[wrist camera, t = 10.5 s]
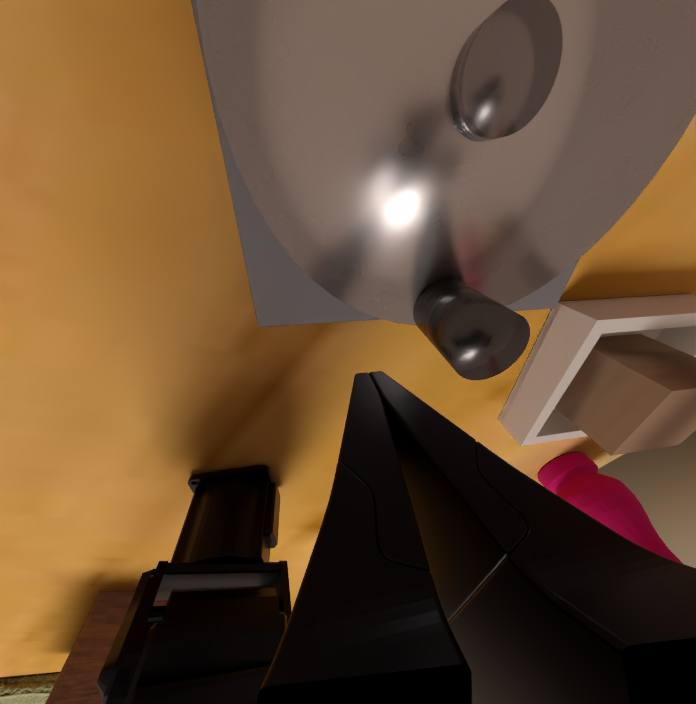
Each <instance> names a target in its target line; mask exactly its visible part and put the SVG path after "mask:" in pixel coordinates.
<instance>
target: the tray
mask: <svg viewBox="0 0 696 704" xmlns="http://www.w3.org/2000/svg"><path fill="white" fill-rule="evenodd" d="M630 334H642V335H644V336H647V337H649V338H651V339H654V340H656V341H659V342H661V343H663V344H666V345H668V346H670V347H673V348H675V349H677V350H680V351H682V352H684V353H687V354H689V355H691V356H694V357H696V295H693V294H678V295H661V296H644V297H627V298H611V299H594V300H577V301H561V302H558V303H557V305H556V307H555V308H552V310H551V312H550V314H549V316H548V318H547V320H546V322H545V324H544V326H543V328H542V330H541V332H540V334H539V336H538V339H537V341H536V343H535V345H534V347H533V349H532V351H531V353H530V355H529V357H528V359H527V361H526V363H525V365H524V367H523V369H522V371H521V373H520V375H519V377H518V380H517V382H516V384H515V386H514V388H513V390H512V392H511V394H510V396H509V398H508V400H507V402H506V404H505V406H504V408H503V410H502V412H501V414H500V416H499V419H498V420H499V421H500V423H501V424H502V425H503V426H504V427H505V428H506V430H507V431H508V432H509V433H510V434H511V435H512V437H513V438H514V439H515V440H516V441H517V442H518V443H519V445H520V446H525V445H531V444H538V443H544V442H551V441H558V440H564V439H571V438H578V437H584V436H587V435H586V434H585V433H584V432H583V431H581V430H580V429H579V428H578V427H577V426H576V425H574V424H573V423H572V422H571V421H570V420H569V419H567V418H566V417H565V416H564V415H563V414H562V413H560V412H559V411H558V410H557V409H556V408H555V406H556V405H557V403H558V402H559V400H560V398H561V397H562V395H563V394H564V392H565V391H566V389H567V388H568V386H569V384H570V383H571V381H572V380H573V378H574V377H575V375H576V374H577V372H578V370H579V369H580V367H581V366H582V364H583V363H584V361H585V359H586V358H587V356H588V355H589V353H590V352H591V350H592V349H593V347H594V345H595V344H596V342H597V341H598V339H599V338H600V337H606V336H618V335H630Z"/></svg>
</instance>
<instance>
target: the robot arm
mask: <svg viewBox="0 0 696 704" xmlns="http://www.w3.org/2000/svg"><path fill="white" fill-rule="evenodd" d="M188 485H189V486H190V488H191V490H192V491H193V493H194V495H193V498H192V501H191V504H190V507H189V510H188V513H187V516H186V519H185V522H184V525H183V528H182V531H181V533H180V536H179V539H178V542H177V545H176V548H175V551H174V554H173V557H172V560H171V563H168V561H159V563H158V566H157V568H156V569H153V570H151V571H148V572H145V573H143V574H142V576H141V579H140V581H139V584H138V586H137V589H136V591H135V594H134V596H133V598H132V601H131V603H130V606H129V608H128V610H127V613H126V615H125V617H124V620H123V622H122V624H121V626H120V629H119V631H118V633H117V636H116V638H115V640H114V642H113V645H112V647H111V649H110V652H109V654H108V656H107V658H106V661H105V663H104V665H103V668H102V670H101V672H100V675H99V677H98V680H97V683H96V684H97V687H98V689H99V691H100V694H101V696H102V701H101V704H696V568H693V567H690V566H687V565H684V564H681V563H678V562H675V561H673V560H670V559H668V558H666V557H663V556H661V555H658V554H656V553H654V552H652V551H650V550H648V549H646V548H643V547H641V546H640V545H638V544H636V543H634V542H632V541H630V540H628V539H627V538H625V537H623V536H621V535H620V534H618V533H616V532H615V531H613V530H612V529H610V528H608V527H607V526H605V525H604V524H602V523H600V522H599V521H597V520H596V519H594V518H592V517H591V516H589V515H588V514H586V513H585V512H583V511H581V510H580V509H578V508H577V507H575V506H573V505H572V504H570V503H569V502H567V501H566V500H564V499H562V498H561V497H559V496H558V495H556V494H554V493H553V492H551V491H550V490H548V489H547V488H545V487H543V486H542V485H540V484H539V483H537V482H536V481H534V480H533V479H531V478H530V477H528V476H526V475H525V474H523V473H522V472H520V471H519V470H517V469H516V468H514V467H513V466H511V465H510V464H509V463H507V462H506V461H504V460H503V459H501V458H500V457H499V456H497V455H496V454H494V453H493V452H492V451H490V450H489V449H487V448H486V447H485V446H483V445H482V444H481V443H479V442H476V441H475V439H474V438H472V437H471V436H470V435H468V434H467V433H465V432H464V431H463V430H461V429H460V428H459V427H457V426H456V425H455V424H453V423H452V422H450V421H449V420H448V419H446V418H445V417H444V416H442V415H441V414H440V413H438V412H437V411H435V410H434V409H433V408H431V407H430V406H429V405H427V404H426V403H425V402H423V401H422V400H420V399H419V398H418V397H416V396H415V395H414V394H412V393H411V392H410V391H408V390H407V389H405V388H404V387H403V386H401V385H400V384H399V383H397V382H396V381H395V380H393V379H392V378H390V377H389V376H388V375H386V374H385V373H384V372H382V371H378V372H370V373H357V374H356V375H355V378H354V383H353V388H352V393H351V398H350V403H349V408H348V413H347V418H346V423H345V428H344V433H343V438H342V443H341V448H340V454H339V459H338V463H337V468H336V473H335V478H334V482H333V486H332V491H331V495H330V499H329V502H328V506H327V509H326V512H325V515H324V519H323V522H322V525H321V528H320V531H319V534H318V537H317V540H316V543H315V546H314V549H313V552H312V555H311V557H310V560H309V563H308V566H307V569H306V572H305V575H304V578H303V581H302V584H301V587H300V590H299V593H298V595H297V598H296V601H295V604H294V607H293V610H292V612H291V601H290V590H289V578H288V567H287V561H279V562H269V557H270V548H275V547H276V545H277V542H278V525H279V509H280V495H279V491H278V488H277V484H276V483H275V482H273V481H272V477H271V474H270V470H269V468H268V467H267V466H256V467H249V468H242V469H235V470H228V471H221V472H214V473H206V474H199V475H193V476H191V477H190V478H189V481H188ZM155 600H168V601H167V603H166V606H153V604H154V601H155Z"/></svg>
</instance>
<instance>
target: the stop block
mask: <svg viewBox="0 0 696 704" xmlns="http://www.w3.org/2000/svg"><path fill="white" fill-rule="evenodd" d="M555 408H556V409H557V410H558V411H559V412H560V413H562V414H563V415H564V416H565V417H566V418H567V419H569V420H570V421H571V422H572V423H573V424H574V425H576V426H577V427H578V428H579V429H580V430H581V431H583V432H584V433H585V434H586V435H587V436H588V437H590V438H591V439H592V440H593V441H594V442H595V443H597V444H598V445H599V446H600V447H601V448H602V449H604V450H605V451H606V452H607V453H608V454H609V455H611V456H612V455H618V454H624V453H630V452H636V451H642V450H648V449H654V448H660V447H666V446H672V445H678V444H680V443H681V442H682V441H684V440H685V439H686V438H687V437H688V436H689V435H690V434H692V433H693V432H694V431H695V430H696V357H694V356H691V355H689V354H687V353H684V352H682V351H680V350H677V349H675V348H673V347H670V346H668V345H666V344H663V343H661V342H659V341H656V340H654V339H651V338H649V337H647V336H644V335H642V334H630V335H618V336H606V337H600V338H599V339H598V341H597V342H596V344H595V345H594V347H593V349H592V350H591V352H590V353H589V355H588V356H587V358H586V359H585V361H584V363H583V364H582V366H581V367H580V369H579V370H578V372H577V374H576V375H575V377H574V378H573V380H572V381H571V383H570V384H569V386H568V388H567V389H566V391H565V392H564V394H563V395H562V397H561V398H560V400H559V402H558V403H557V405H556V406H555Z"/></svg>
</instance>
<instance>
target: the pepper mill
mask: <svg viewBox="0 0 696 704" xmlns="http://www.w3.org/2000/svg"><path fill="white" fill-rule="evenodd" d="M597 472H598V466H597V465H596V464H595V463H594V462H593V461H592V460H590V459H589V458H588V457H587V456H586V455H585V454H584V453H580V452H573V453H568V454H565V455H562V456H560V457H558V458H556V459H554V460H552V461H551V462H549V463H547V464H546V465H545V466H544V467H543V468H542V469H541V470H540V471H539V473H538V480H539V481H540V482H541V484H542V485H543V486H544V487H545V488H547V489H548V490H550V491H551V492H553V493H554V494H557V495H558V496H559V497H561V498H562V499H564V500H566V501H567V502H569V503H570V504H572V505H573V506H575V507H577V508H578V509H580V510H581V511H583V512H585V513H586V514H588V515H589V516H591V517H592V518H594V519H596V520H597V521H599V522H600V523H602V524H604V525H605V526H607V527H608V528H610V529H612V530H613V531H615V532H616V533H618V534H620V535H621V536H623V537H625V538H627V539H628V540H630V541H632V542H634V543H636V544H638V545H640V546H641V547H643V548H646V549H648V550H650V551H652V552H654V553H656V554H658V555H661V556H663V557H666V558H668V559H670V560H673V561H675V562H678V563H681V564H683V563H682V562H681V561H680V560H679V559H678V558H677V557H676V556H675V555H674V554H673V553H672V552H671V551H670V550H669V549H668V548H667V546H666V545H665V544H664V542H663V541H662V540H661V538H660V537H659V536H658V534H657V532H656V531H655V529H654V527H653V526H652V524H651V522H650V520H649V518H648V516H647V514H646V512H645V511H644V509H643V507H642V505H641V504H640V502H639V501H638V499H637V498H636V497H635V495H634V494H633V493H632V492H631V491H630V490H629V489H628V488H627V487H626V486H625V485H624V484H623V483H622V482H621V481H619V480H617V479H615V478H612V477H609V476H605V475H602V474H599V473H597Z"/></svg>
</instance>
